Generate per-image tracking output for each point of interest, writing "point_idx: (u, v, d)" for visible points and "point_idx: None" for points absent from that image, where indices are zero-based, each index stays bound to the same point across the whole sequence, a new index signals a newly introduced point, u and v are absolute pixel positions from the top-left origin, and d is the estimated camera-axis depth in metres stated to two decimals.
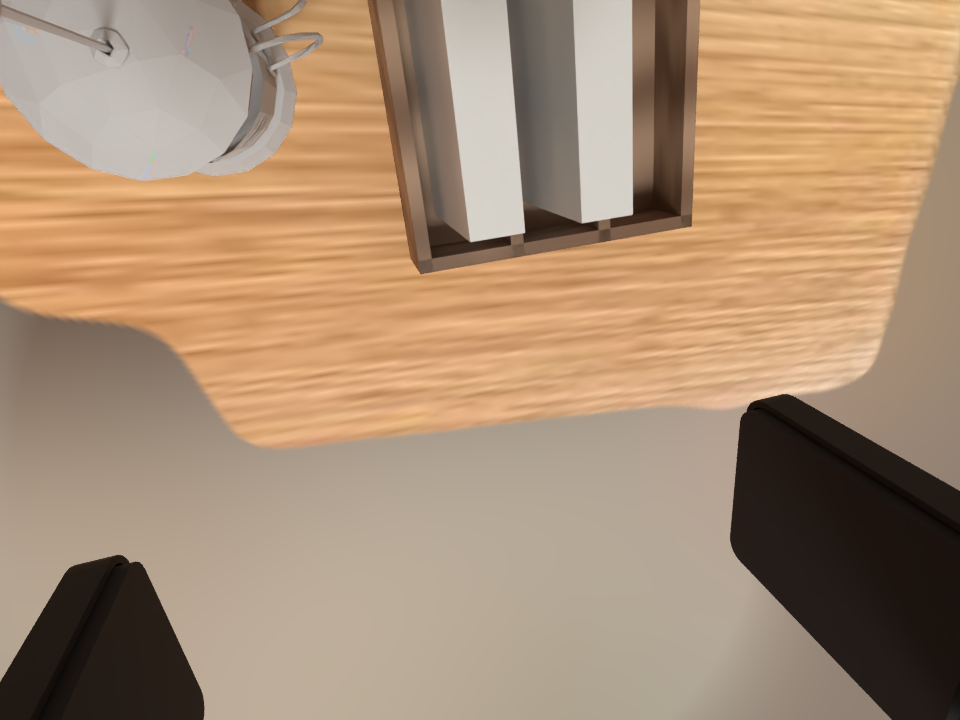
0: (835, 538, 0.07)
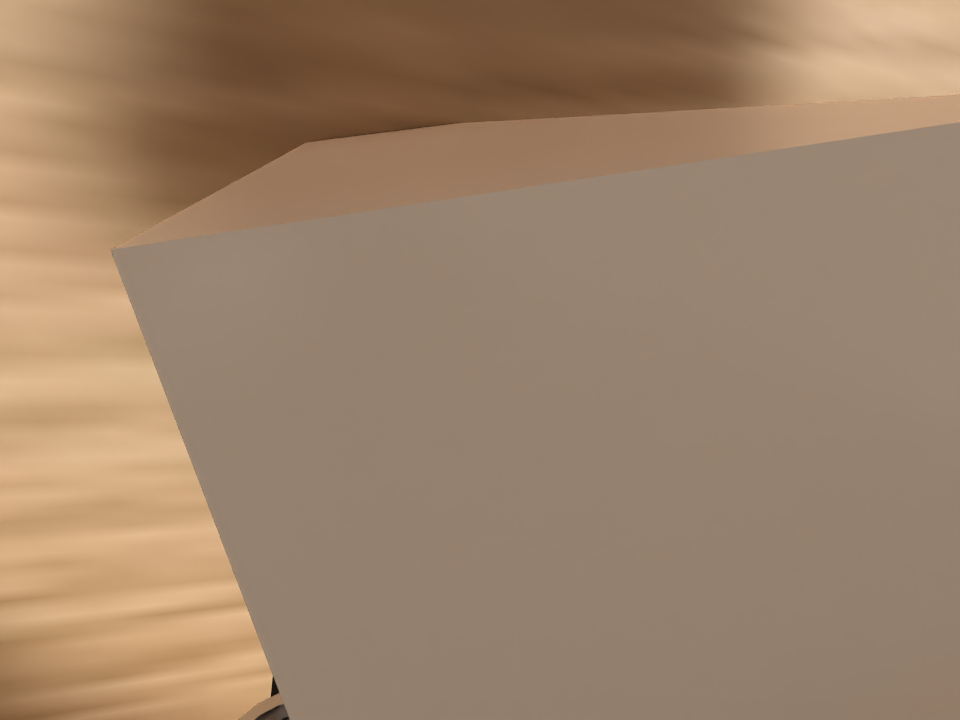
0: None
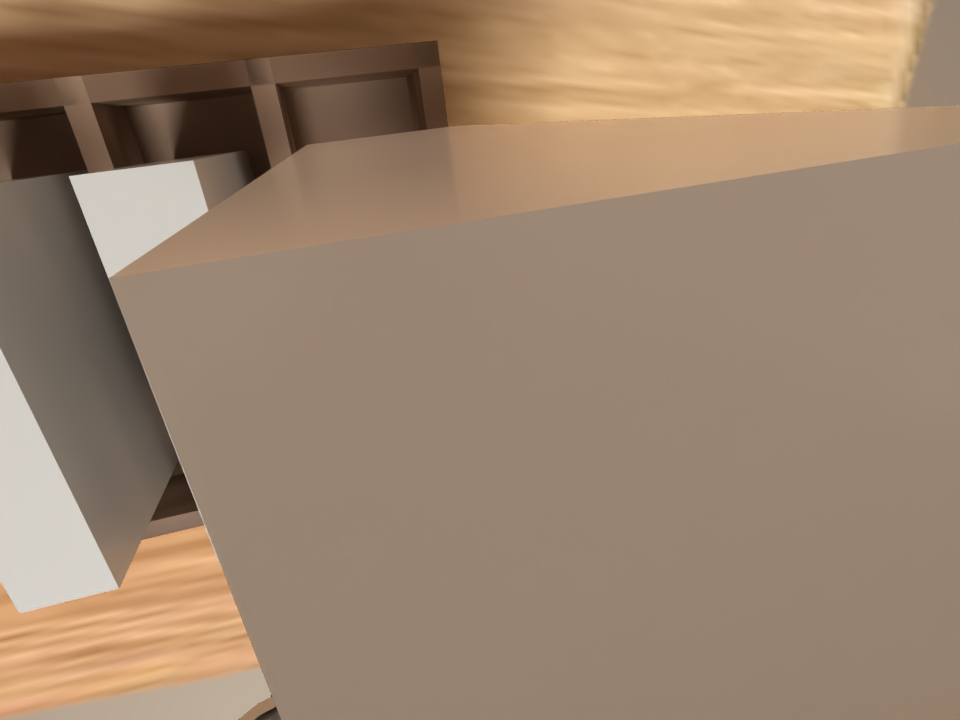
0: None
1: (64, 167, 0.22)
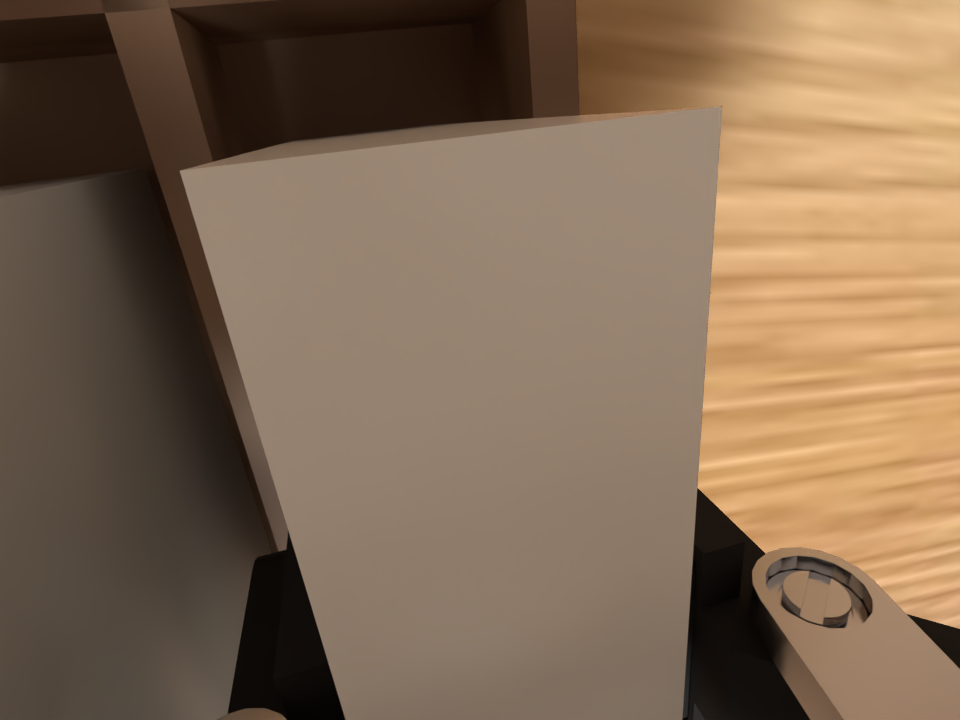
0: None
1: None
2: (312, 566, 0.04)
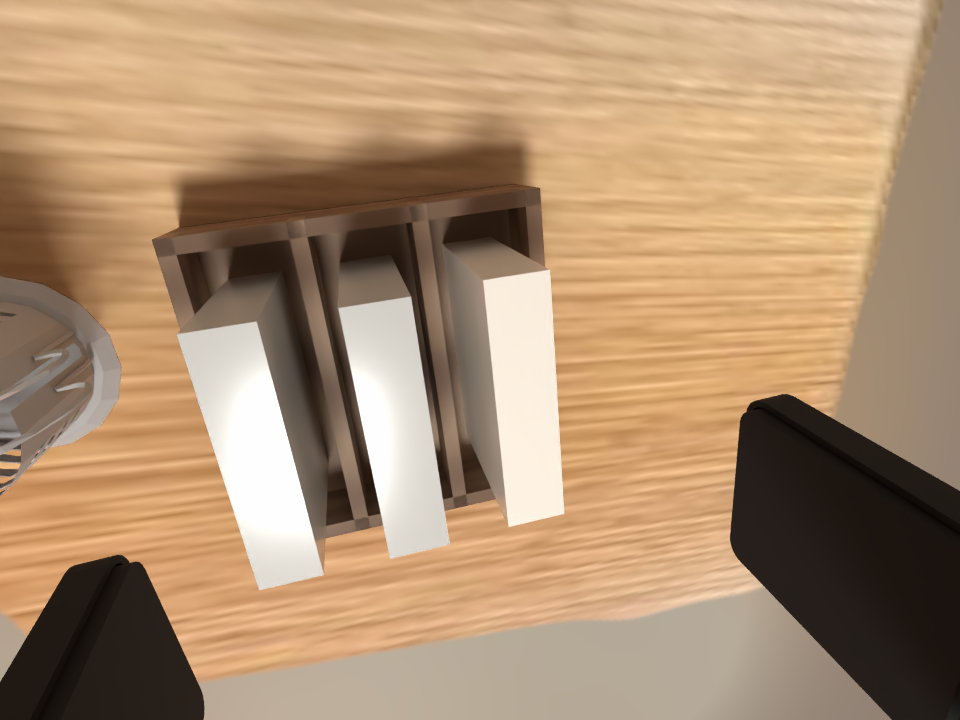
0: (835, 538, 0.07)
1: (264, 269, 0.30)
2: (490, 336, 0.23)
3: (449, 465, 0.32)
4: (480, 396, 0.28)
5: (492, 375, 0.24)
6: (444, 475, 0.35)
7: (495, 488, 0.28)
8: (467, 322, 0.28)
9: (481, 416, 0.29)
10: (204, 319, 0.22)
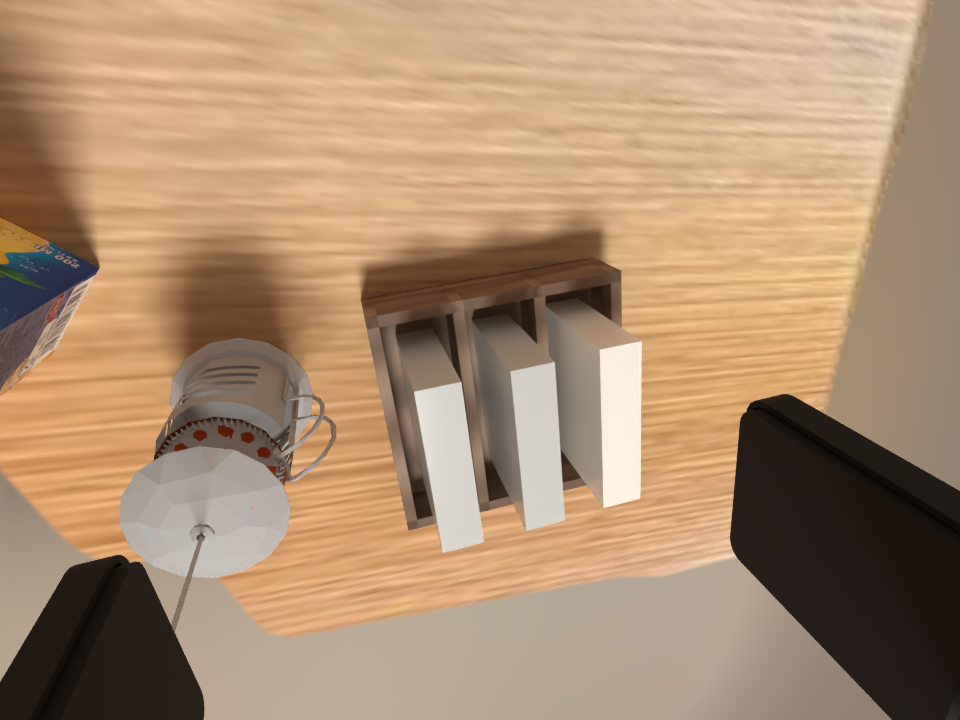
0: (835, 538, 0.07)
1: (420, 327, 0.41)
2: (601, 384, 0.35)
3: None
4: (580, 418, 0.40)
5: (600, 408, 0.36)
6: None
7: (589, 481, 0.41)
8: (571, 366, 0.40)
9: (579, 431, 0.41)
10: (420, 378, 0.34)
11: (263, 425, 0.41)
